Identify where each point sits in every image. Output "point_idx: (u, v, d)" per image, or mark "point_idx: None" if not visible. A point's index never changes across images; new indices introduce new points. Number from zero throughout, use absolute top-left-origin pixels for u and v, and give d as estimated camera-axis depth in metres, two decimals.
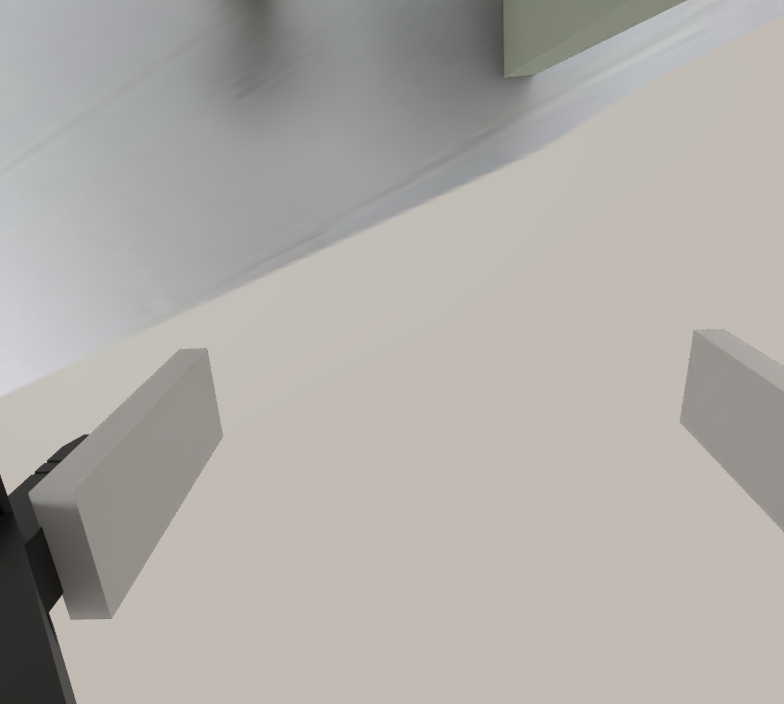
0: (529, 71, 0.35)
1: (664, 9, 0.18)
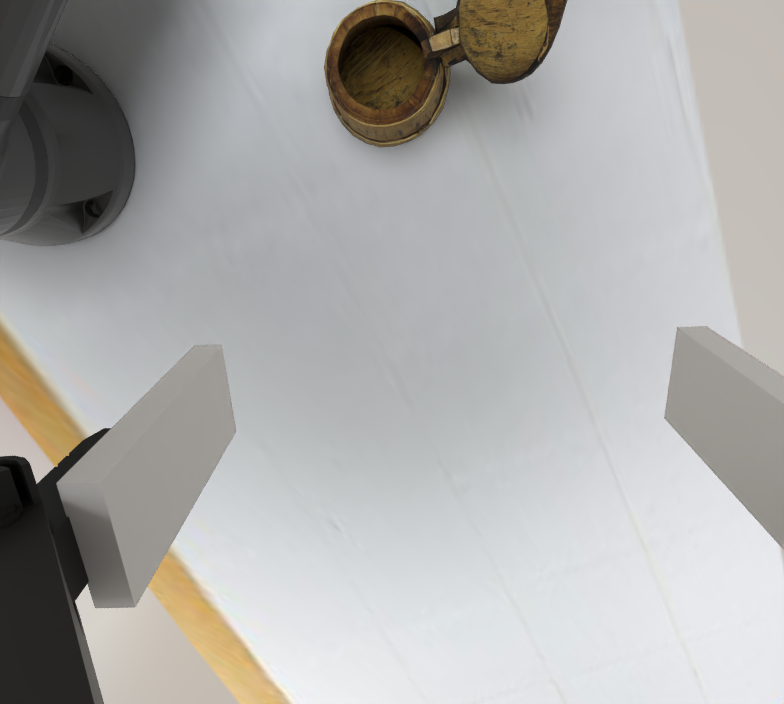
0: None
1: None
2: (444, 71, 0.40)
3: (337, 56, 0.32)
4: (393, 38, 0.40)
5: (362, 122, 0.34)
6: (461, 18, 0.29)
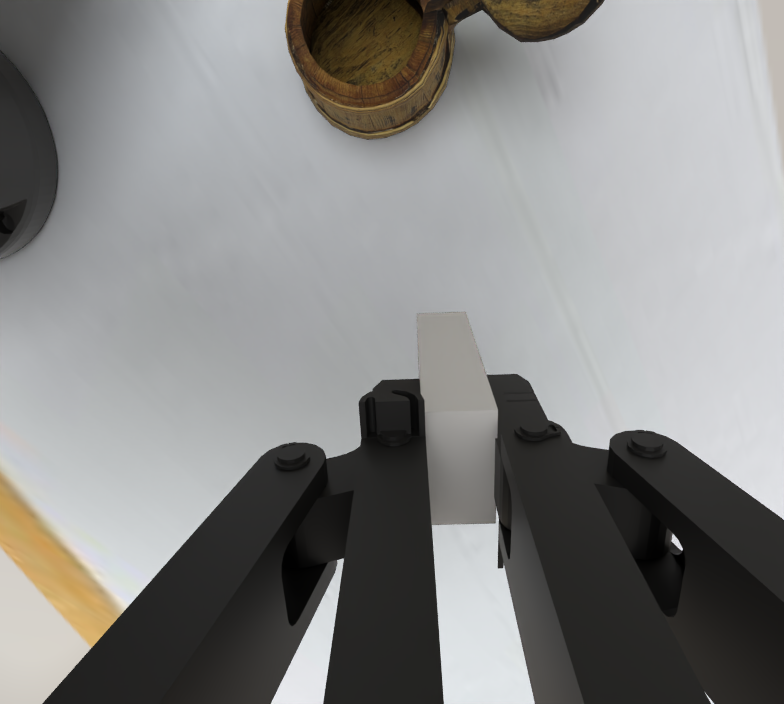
0: None
1: None
2: (447, 39, 0.31)
3: (299, 10, 0.23)
4: None
5: (338, 104, 0.25)
6: None
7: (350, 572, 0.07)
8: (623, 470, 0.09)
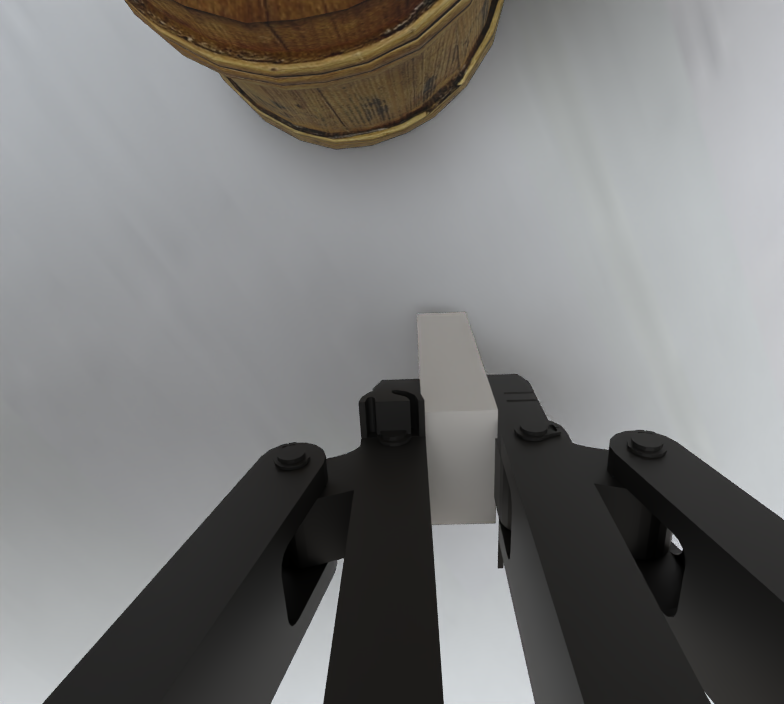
0: None
1: None
2: None
3: None
4: None
5: (211, 54, 0.08)
6: None
7: (350, 572, 0.07)
8: (623, 470, 0.09)
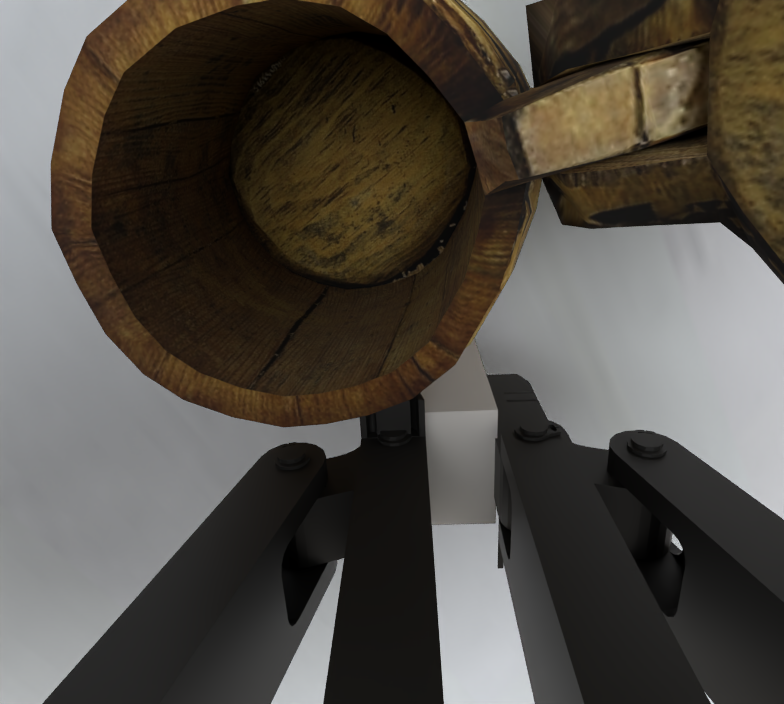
0: None
1: None
2: None
3: (86, 198, 0.07)
4: (365, 67, 0.15)
5: None
6: None
7: (350, 572, 0.07)
8: (623, 470, 0.09)
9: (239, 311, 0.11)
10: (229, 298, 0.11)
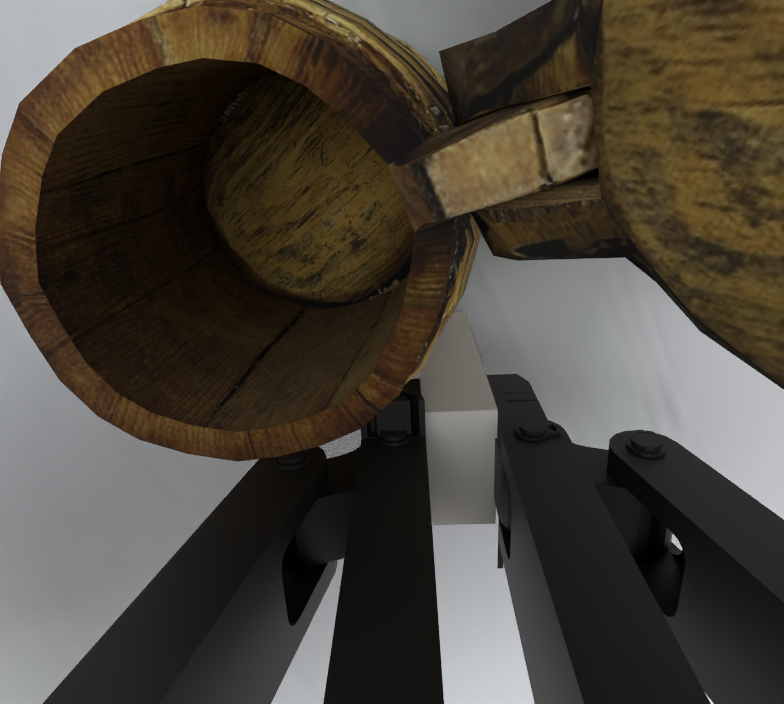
0: None
1: None
2: None
3: (31, 253, 0.07)
4: None
5: None
6: (616, 54, 0.05)
7: (350, 572, 0.07)
8: (623, 470, 0.09)
9: (204, 343, 0.11)
10: (195, 330, 0.12)
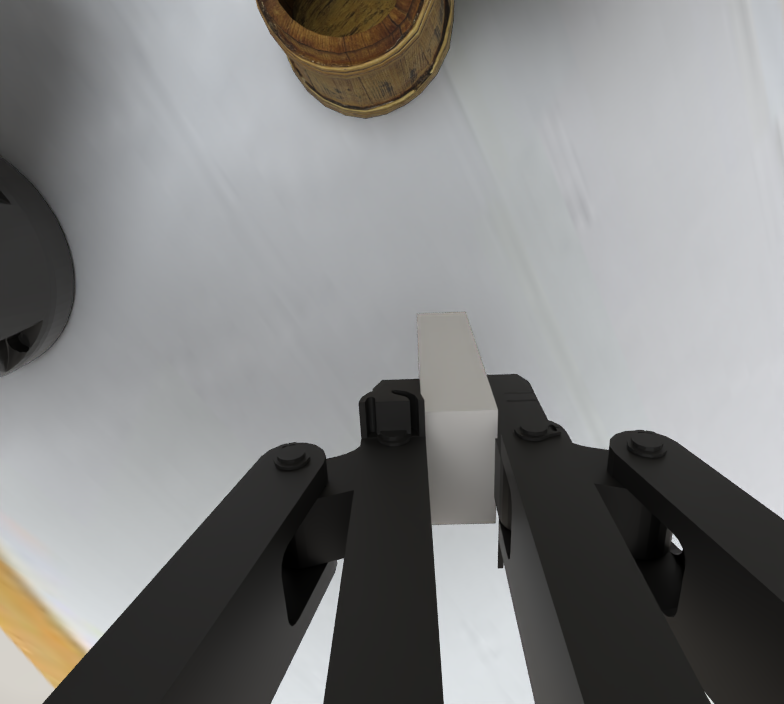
0: None
1: None
2: None
3: None
4: None
5: (321, 66, 0.21)
6: None
7: (350, 572, 0.07)
8: (623, 470, 0.09)
9: None
10: None
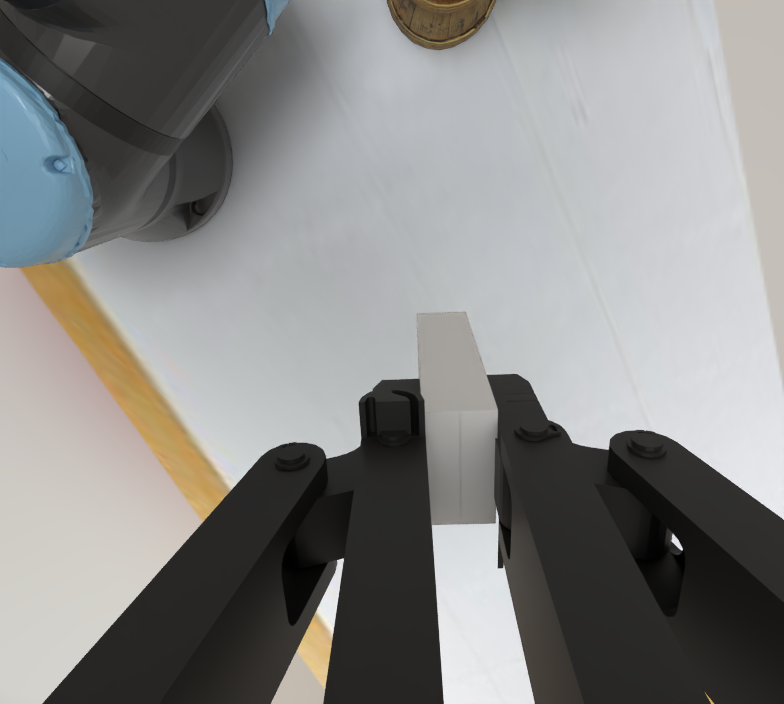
0: None
1: None
2: None
3: None
4: None
5: (435, 3, 0.37)
6: None
7: (350, 572, 0.07)
8: (623, 470, 0.09)
9: None
10: None
